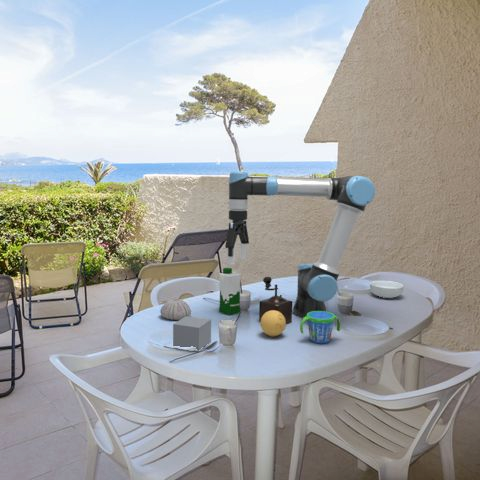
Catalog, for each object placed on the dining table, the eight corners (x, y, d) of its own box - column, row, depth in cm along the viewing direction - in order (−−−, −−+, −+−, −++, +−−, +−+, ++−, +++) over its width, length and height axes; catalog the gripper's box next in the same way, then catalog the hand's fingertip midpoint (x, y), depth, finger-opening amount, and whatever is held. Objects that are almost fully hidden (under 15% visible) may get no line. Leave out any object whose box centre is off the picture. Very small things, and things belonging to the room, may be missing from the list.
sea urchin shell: (173, 311, 204) (173, 294, 203) (197, 316, 197) (197, 298, 196) (154, 318, 193) (153, 300, 192) (178, 324, 186) (178, 305, 185)
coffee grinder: (293, 322, 190) (295, 281, 188) (277, 327, 183) (278, 285, 180) (266, 314, 201) (267, 275, 199) (249, 319, 193) (250, 278, 191)
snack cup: (303, 346, 163) (304, 319, 161) (296, 336, 173) (297, 310, 172) (344, 345, 164) (345, 318, 163) (335, 335, 175) (336, 310, 173)
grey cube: (210, 342, 165) (211, 319, 164) (198, 352, 155) (198, 327, 154) (186, 338, 168) (186, 316, 167) (173, 347, 159) (173, 324, 158)
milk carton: (231, 308, 209) (231, 266, 207) (243, 312, 202) (244, 269, 200) (216, 311, 204) (216, 268, 201) (228, 316, 197) (229, 272, 194)
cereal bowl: (362, 294, 239) (363, 281, 238) (386, 291, 246) (387, 279, 245) (385, 302, 224) (385, 288, 223) (409, 299, 231) (410, 286, 230)
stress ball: (258, 339, 171) (271, 329, 164) (253, 316, 176) (266, 305, 169) (280, 340, 176) (293, 329, 169) (274, 317, 181) (287, 306, 174)
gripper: (240, 207, 192) (239, 256, 195) (217, 211, 169) (216, 266, 172) (256, 208, 190) (255, 257, 193) (235, 212, 167) (234, 267, 169)
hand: (237, 261), depth 182 cm, fingers open, 13 cm apart
